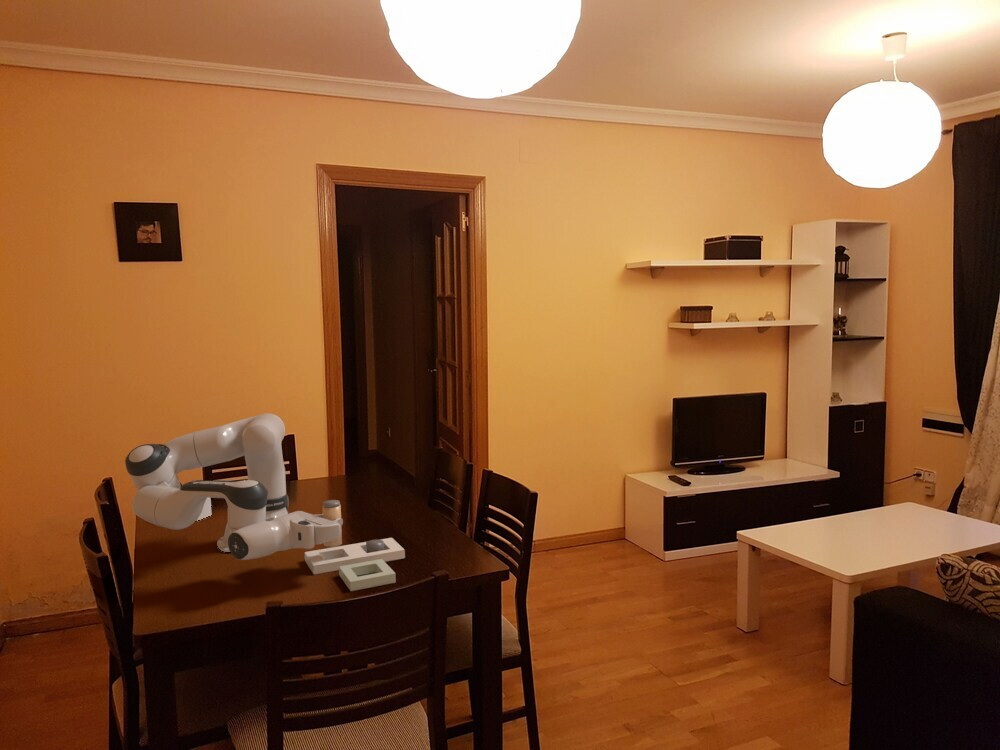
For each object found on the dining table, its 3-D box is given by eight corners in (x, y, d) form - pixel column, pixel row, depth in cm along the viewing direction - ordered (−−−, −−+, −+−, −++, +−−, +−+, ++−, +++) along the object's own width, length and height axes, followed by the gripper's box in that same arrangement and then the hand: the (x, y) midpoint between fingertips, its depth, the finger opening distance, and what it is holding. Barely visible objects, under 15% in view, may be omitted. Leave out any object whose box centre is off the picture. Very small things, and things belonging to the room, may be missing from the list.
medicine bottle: (180, 520, 247) (178, 485, 245) (196, 514, 253) (194, 480, 252) (196, 522, 244) (194, 487, 243) (212, 516, 250) (210, 482, 249)
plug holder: (350, 591, 184) (350, 581, 183) (339, 575, 194) (338, 566, 194) (395, 582, 189) (395, 573, 189) (382, 567, 200) (381, 558, 199)
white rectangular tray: (313, 574, 195) (313, 560, 195) (304, 560, 206) (304, 547, 206) (405, 558, 207) (404, 544, 206) (392, 545, 217) (391, 532, 217)
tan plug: (326, 547, 199) (324, 505, 198) (322, 542, 204) (320, 501, 203) (343, 545, 201) (342, 503, 200) (339, 539, 206) (338, 498, 205)
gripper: (271, 534, 200) (314, 522, 210) (313, 550, 186) (356, 537, 196) (270, 512, 199) (313, 501, 209) (311, 526, 185) (355, 514, 195)
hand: (334, 518), depth 203 cm, fingers closed on tan plug, 5 cm apart
